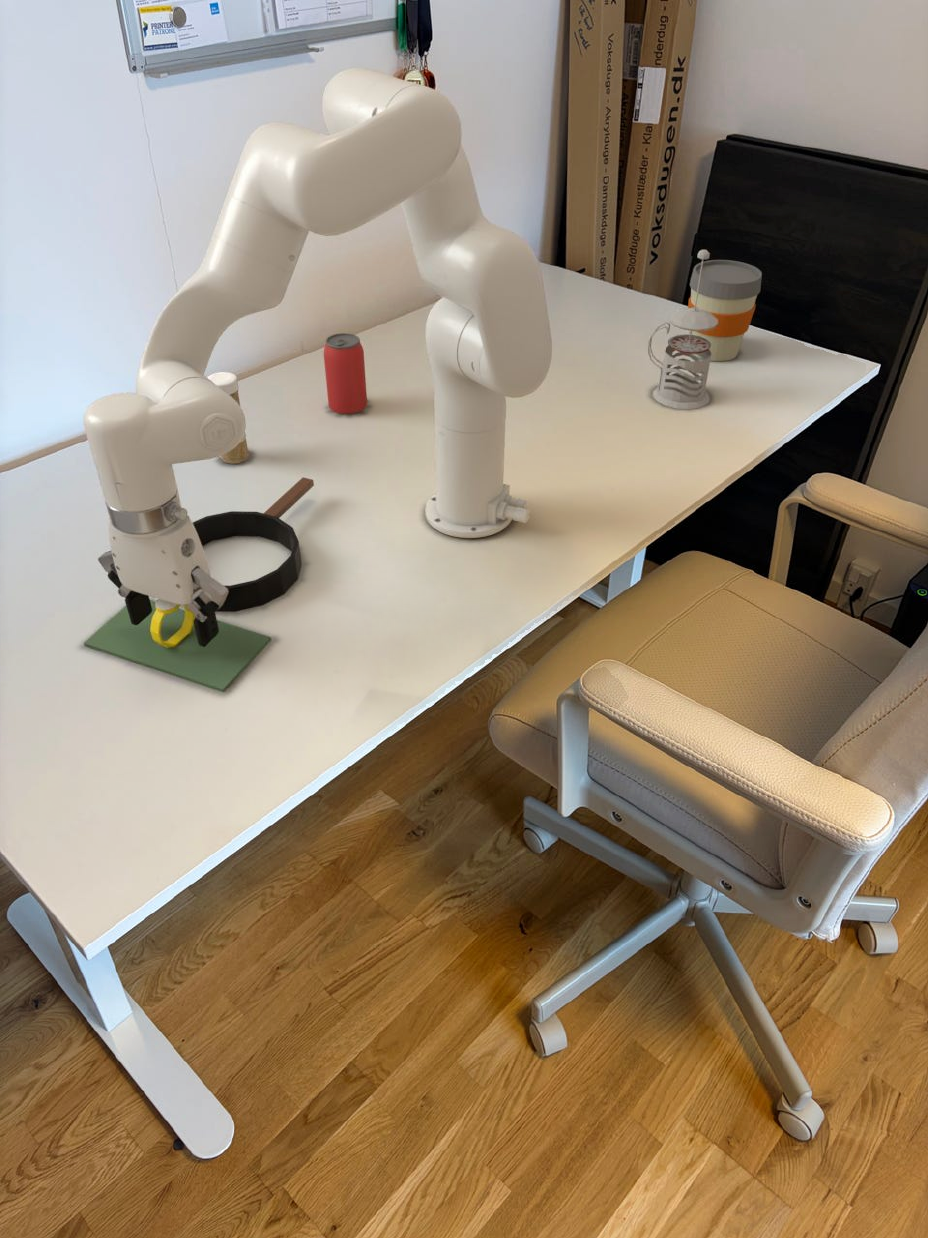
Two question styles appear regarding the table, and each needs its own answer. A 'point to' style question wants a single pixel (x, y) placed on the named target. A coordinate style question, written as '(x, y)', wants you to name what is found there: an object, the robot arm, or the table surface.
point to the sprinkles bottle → (231, 387)
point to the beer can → (345, 374)
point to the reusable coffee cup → (725, 303)
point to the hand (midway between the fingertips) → (175, 628)
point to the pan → (265, 528)
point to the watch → (158, 617)
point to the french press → (680, 385)
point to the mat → (181, 648)
